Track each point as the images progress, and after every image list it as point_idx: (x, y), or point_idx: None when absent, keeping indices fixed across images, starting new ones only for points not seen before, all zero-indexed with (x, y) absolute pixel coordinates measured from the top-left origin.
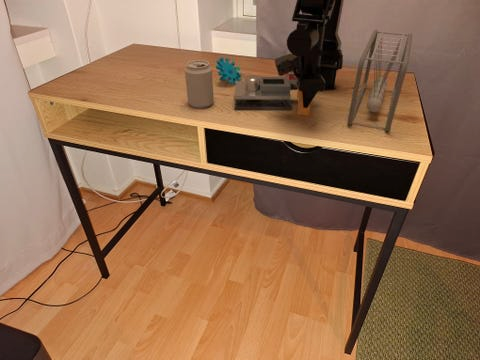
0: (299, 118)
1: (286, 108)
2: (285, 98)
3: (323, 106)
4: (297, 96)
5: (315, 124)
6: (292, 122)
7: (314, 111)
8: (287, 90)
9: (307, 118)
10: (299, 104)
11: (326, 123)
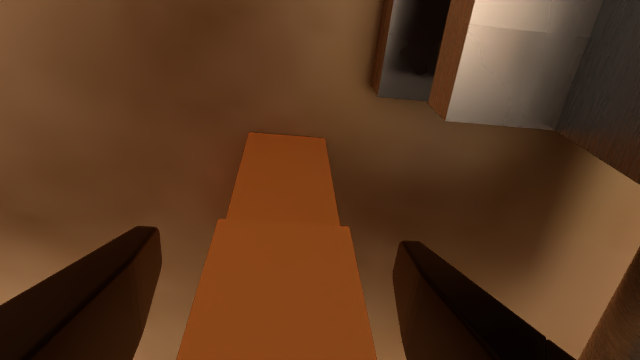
0: (171, 132)
1: (384, 28)
2: (449, 26)
3: (400, 351)
4: (280, 223)
5: (60, 246)
6: (63, 39)
7: None
8: (605, 99)
9: (176, 204)
10: (235, 194)
11: None
